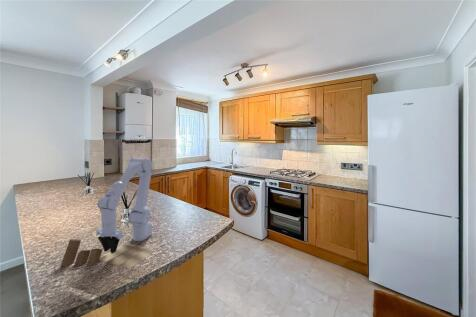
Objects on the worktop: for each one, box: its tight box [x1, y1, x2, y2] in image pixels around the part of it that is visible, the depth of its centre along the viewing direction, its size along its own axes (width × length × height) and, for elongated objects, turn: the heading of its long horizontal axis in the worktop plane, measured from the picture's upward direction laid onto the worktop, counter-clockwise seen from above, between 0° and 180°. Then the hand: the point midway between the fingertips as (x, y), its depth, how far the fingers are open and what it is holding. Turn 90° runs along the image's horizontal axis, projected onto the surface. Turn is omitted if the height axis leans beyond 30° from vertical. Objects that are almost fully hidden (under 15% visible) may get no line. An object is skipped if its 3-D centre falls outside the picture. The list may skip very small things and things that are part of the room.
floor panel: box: [107, 245, 158, 270], centre depth 96 cm, size 16×12×1 cm
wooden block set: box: [60, 238, 103, 267], centre depth 93 cm, size 18×9×10 cm, turn 76°
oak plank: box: [98, 242, 138, 264], centre depth 100 cm, size 16×7×1 cm, turn 159°
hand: (110, 251), depth 97 cm, fingers open, 4 cm apart
